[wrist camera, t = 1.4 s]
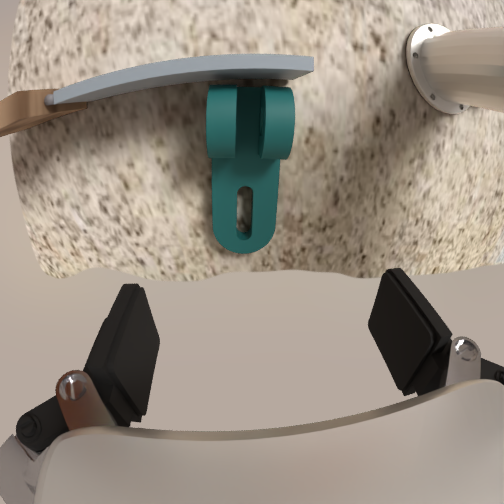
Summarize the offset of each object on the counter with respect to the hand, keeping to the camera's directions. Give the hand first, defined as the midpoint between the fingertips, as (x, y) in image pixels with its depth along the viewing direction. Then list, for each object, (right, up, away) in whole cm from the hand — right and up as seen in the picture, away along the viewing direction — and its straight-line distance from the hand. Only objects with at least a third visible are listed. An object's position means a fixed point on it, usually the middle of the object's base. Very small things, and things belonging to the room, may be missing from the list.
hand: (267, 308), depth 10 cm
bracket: (-1, +11, +19) cm, 22 cm away
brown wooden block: (-24, +19, +12) cm, 33 cm away
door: (-8, +19, +13) cm, 24 cm away
